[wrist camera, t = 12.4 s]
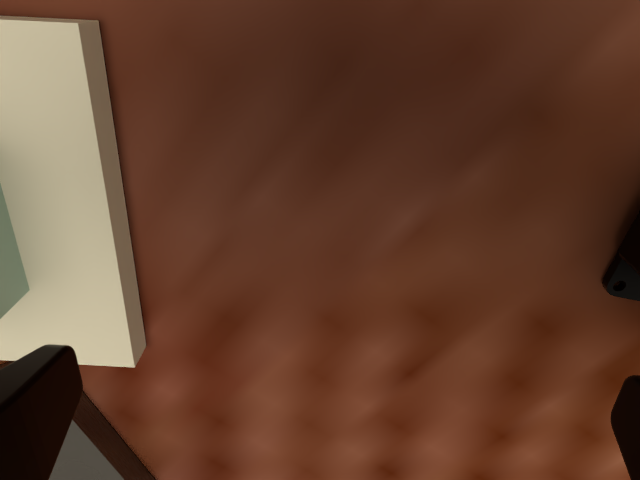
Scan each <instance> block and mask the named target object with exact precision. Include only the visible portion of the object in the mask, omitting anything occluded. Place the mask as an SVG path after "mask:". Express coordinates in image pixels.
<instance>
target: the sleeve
mask: <svg viewBox="0 0 640 480" xmlns="http://www.w3.org/2000/svg"><path fill="white" fill-rule="evenodd" d="M29 290H30V289H29V286H28V282H27V278H26V275H25V271H24V267H23V264H22V260H21V256H20V253H19V249H18V245H17V242H16V238H15V235H14V231H13V227H12V224H11V220H10V216H9V213H8V209H7V205H6V202H5V198H4V195H3V191H2V187H1V184H0V319H1V318H2V317H3V316H4V315H5V314H6V313H7V312H8V311H9V310H10V309H11V308H12V307H13V306H14V305H15V304H16V303H17V302H18V301H19V300H20V299H21V298H22V297H23V296H24V295H25V294H26V293H27V292H28V291H29Z"/></svg>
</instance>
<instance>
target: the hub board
mask: <svg viewBox="0 0 640 480" xmlns="http://www.w3.org/2000/svg"><path fill="white" fill-rule="evenodd" d="M0 184H1V187H2V191H3V195H4V198H5V202H6V205H7V209H8V213H9V216H10V220H11V224H12V227H13V231H14V235H15V238H16V242H17V245H18V249H19V253H20V256H21V260H22V264H23V267H24V271H25V275H26V278H27V282H28V286H29V289H30V290H29V291H28V292H27V293H26V294H25V295H24V296H23V297H22V298H21V299H20V300H19V301H18V302H17V303H16V304H15V305H14V306H13V307H12V308H11V309H10V310H9V311H8V312H7V313H6V314H5V315H4V316H3V317H2V318H1V319H0V360H8V361H16V360H18V359H20V358H22V357H23V356H25V355H27V354H29V353H31V352H32V351H34V350H36V349H38V348H39V347H41V346H43V345H48V344H55V345H69V346H71V347H72V348H73V349H74V350H75V353H76V357H77V361H78V364H81V365H99V366H117V367H135V366H136V364H137V362H138V360H139V359H140V357H141V355H142V353H143V351H144V349H145V347H146V340H145V333H144V326H143V319H142V312H141V306H140V299H139V292H138V285H137V279H136V272H135V265H134V258H133V251H132V245H131V238H130V231H129V224H128V217H127V211H126V204H125V197H124V190H123V184H122V177H121V170H120V163H119V156H118V150H117V143H116V136H115V129H114V122H113V116H112V109H111V102H110V95H109V89H108V82H107V75H106V68H105V61H104V55H103V48H102V41H101V34H100V27H99V21H98V20H80V19H59V18H38V17H18V16H0Z"/></svg>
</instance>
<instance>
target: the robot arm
mask: <svg viewBox="0 0 640 480" xmlns="http://www.w3.org/2000/svg"><path fill="white" fill-rule="evenodd" d="M618 281H621V282H620V283H619V284H618V285H616V286H613V285H614V284H615V283H616V282H618ZM602 284H603V287H604V288H605V289H606V291H607V292H608V293H609V294H610V295H613V296H616V297H621V298H627V299H632V300H637V301H640V211H639V213H638V214H637V216H636V218H635V220H634V222H633V224H632V225H631V227H630V229H629V231H628V233H627V235H626V236H625V238H624V240H623V242H622V244H621V246H620V247H619V249H618V253H617V255H616V256H615V258H614V260H613V262H612V264H611V266H610V267H609V269H608V271H607V273H606V275H605V277H604V278H603V282H602ZM82 390H83V384H82V379H81V374H80V370H79V366H78V361H77V357H76V353H75V350H74V349H73V348H72V347H71V346H69V345H55V344H48V345H43V346H41V347H39V348H38V349H36V350H34V351H32V352H31V353H29V354H27V355H25V356H23V357H22V358H20V359H18V360H16V361H14V362H13V363H11V364H9V365H7V366H5V367H4V368H2V369H0V480H49V478H50V475H51V473H52V470H53V468H54V465H55V463H56V460H57V458H58V455H59V453H60V450H61V447H62V445H63V442H64V440H65V437H66V435H67V432H68V430H69V427H70V425H71V422H72V419H73V417H74V414H75V412H76V409H77V407H78V404H79V402H80V399H81V396H82ZM611 425H612V429H613V431H614V434H615V437H616V440H617V442H618V445H619V448H620V451H621V453H622V456H623V459H624V462H625V464H626V467H627V470H628V473H629V476H630V478H631V480H640V376H639V375H632V376H629V377H628V378H627V379H625V381H624V383H623V385H622V388H621V390H620V392H619V395H618V397H617V399H616V402H615V404H614V407H613V409H612V412H611Z"/></svg>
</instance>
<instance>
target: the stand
mask: <svg viewBox="0 0 640 480" xmlns="http://www.w3.org/2000/svg"><path fill="white" fill-rule="evenodd" d="M13 362H14V361H10V362H7V363H4V364H1V365H0V369H2V368H4V367H5V366H7V365H9V364H11V363H13ZM49 480H155V479H154V478H153V476H152V475H151V474H150V473H149V472H148V470H147V469H146V468H145V467H144V465H143V464H142V463H141V462H140V461H139V459H138V458H137V457H136V456H135V455H134V453H133V452H132V451H131V450H130V448H129V447H128V446H127V445H126V444H125V442H124V441H123V440H122V439H121V438H120V436H119V435H118V434H117V433H116V431H115V430H114V429H113V428H112V427H111V425H110V424H109V423H108V422H107V421H106V419H105V418H104V417H103V416H102V414H101V413H100V412H99V411H98V410H97V408H96V407H95V406H94V405H93V404H92V402H91V401H90V400H89V399H88V397H87V396H86V395H85V394H84V393H83V391H82V396H81V399H80V402H79V404H78V407H77V409H76V412H75V414H74V417H73V419H72V422H71V425H70V427H69V430H68V432H67V435H66V437H65V440H64V442H63V445H62V447H61V450H60V453H59V455H58V458H57V460H56V463H55V465H54V468H53V470H52V473H51V475H50V478H49Z"/></svg>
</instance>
